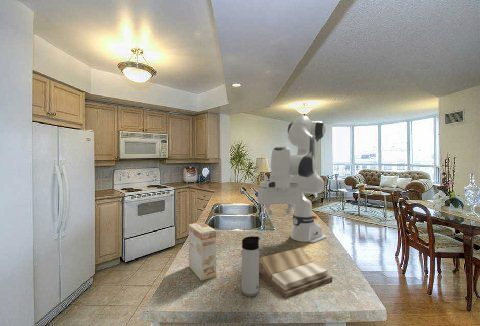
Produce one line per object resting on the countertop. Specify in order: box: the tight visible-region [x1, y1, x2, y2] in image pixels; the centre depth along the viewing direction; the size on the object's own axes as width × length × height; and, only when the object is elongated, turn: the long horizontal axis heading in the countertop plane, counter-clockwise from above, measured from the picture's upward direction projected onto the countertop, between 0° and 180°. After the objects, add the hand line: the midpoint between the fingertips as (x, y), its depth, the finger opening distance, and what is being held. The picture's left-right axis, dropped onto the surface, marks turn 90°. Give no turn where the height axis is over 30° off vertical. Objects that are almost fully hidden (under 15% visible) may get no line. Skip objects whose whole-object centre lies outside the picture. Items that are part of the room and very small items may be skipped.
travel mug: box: [241, 235, 261, 298], centre depth 83 cm, size 6×7×20 cm
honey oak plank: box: [259, 247, 313, 277], centre depth 97 cm, size 22×8×2 cm
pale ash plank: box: [272, 261, 328, 290], centre depth 90 cm, size 22×8×2 cm, turn 118°
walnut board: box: [259, 266, 334, 299], centre depth 94 cm, size 24×20×2 cm
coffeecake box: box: [188, 222, 217, 282], centre depth 98 cm, size 15×7×20 cm, turn 32°
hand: (278, 214), depth 100 cm, fingers open, 8 cm apart
